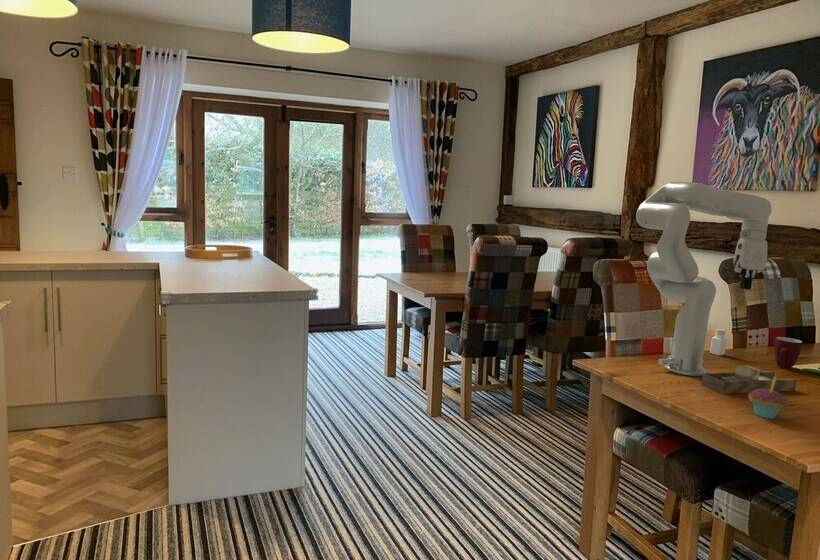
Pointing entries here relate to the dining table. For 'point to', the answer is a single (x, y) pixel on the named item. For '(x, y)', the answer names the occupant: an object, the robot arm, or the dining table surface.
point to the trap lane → (745, 383)
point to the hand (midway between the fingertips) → (745, 288)
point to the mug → (787, 351)
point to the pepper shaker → (718, 343)
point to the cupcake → (767, 401)
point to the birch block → (746, 373)
